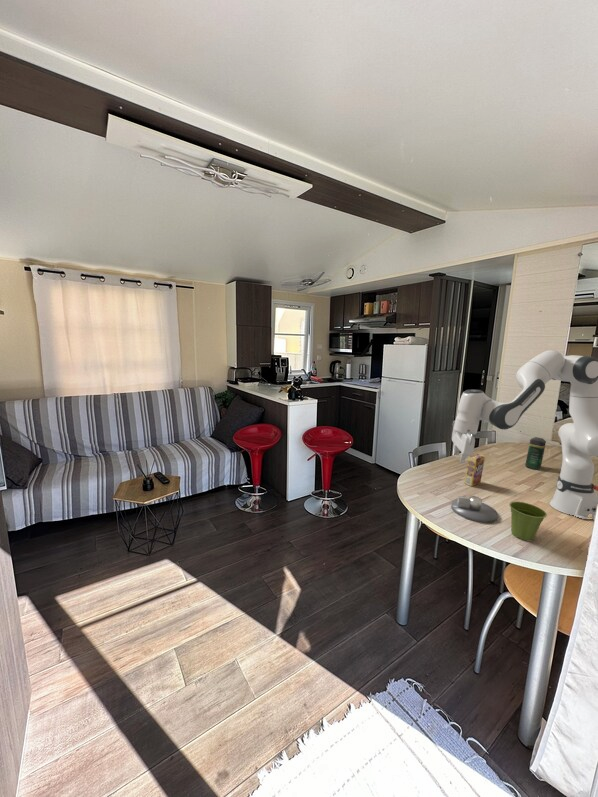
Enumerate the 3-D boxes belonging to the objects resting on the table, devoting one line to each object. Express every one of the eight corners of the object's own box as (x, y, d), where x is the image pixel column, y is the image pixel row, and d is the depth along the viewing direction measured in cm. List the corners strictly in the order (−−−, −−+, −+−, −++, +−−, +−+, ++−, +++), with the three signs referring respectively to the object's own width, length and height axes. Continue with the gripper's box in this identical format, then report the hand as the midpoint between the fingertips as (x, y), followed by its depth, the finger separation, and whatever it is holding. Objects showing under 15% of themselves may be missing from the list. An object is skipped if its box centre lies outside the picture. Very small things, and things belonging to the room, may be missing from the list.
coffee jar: (539, 471, 197) (545, 441, 194) (523, 467, 202) (529, 438, 199) (541, 467, 204) (547, 438, 201) (526, 463, 210) (531, 435, 206)
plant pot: (534, 549, 120) (539, 520, 118) (499, 532, 129) (504, 506, 127) (546, 538, 127) (551, 511, 125) (512, 524, 136) (517, 498, 134)
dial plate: (486, 504, 152) (487, 500, 152) (505, 525, 135) (505, 521, 134) (446, 499, 154) (446, 496, 154) (458, 520, 137) (459, 516, 137)
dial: (478, 505, 146) (479, 496, 146) (482, 511, 141) (484, 502, 141) (455, 503, 148) (456, 494, 147) (459, 508, 143) (460, 499, 142)
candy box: (472, 486, 170) (476, 458, 167) (464, 483, 174) (468, 456, 171) (481, 483, 175) (485, 456, 172) (473, 480, 179) (477, 453, 176)
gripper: (481, 435, 128) (473, 468, 131) (467, 423, 148) (460, 452, 151) (464, 432, 130) (457, 465, 132) (452, 420, 149) (445, 449, 152)
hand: (458, 458), depth 142 cm, fingers open, 8 cm apart
